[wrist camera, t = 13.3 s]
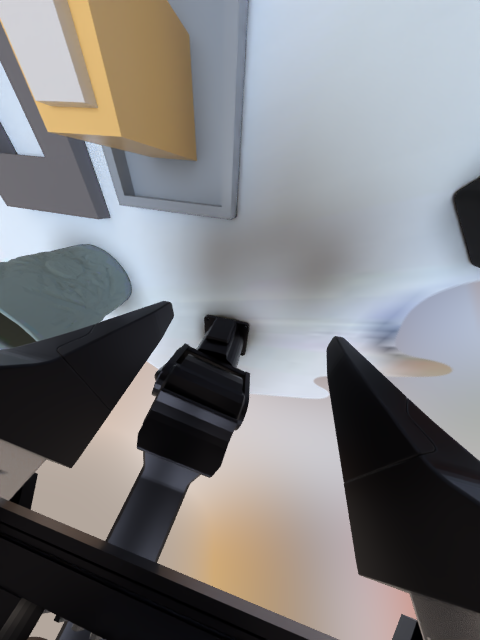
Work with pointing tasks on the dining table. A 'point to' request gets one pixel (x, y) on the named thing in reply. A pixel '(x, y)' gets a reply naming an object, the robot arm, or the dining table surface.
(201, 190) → the parts tray
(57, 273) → the grey green pot
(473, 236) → the battery
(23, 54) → the block
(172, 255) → the dining table surface
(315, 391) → the dining table surface
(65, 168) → the grey flat frame
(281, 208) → the dining table surface
